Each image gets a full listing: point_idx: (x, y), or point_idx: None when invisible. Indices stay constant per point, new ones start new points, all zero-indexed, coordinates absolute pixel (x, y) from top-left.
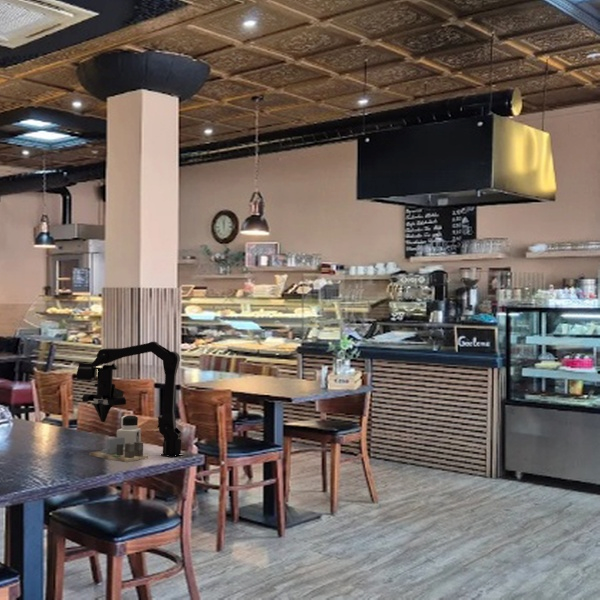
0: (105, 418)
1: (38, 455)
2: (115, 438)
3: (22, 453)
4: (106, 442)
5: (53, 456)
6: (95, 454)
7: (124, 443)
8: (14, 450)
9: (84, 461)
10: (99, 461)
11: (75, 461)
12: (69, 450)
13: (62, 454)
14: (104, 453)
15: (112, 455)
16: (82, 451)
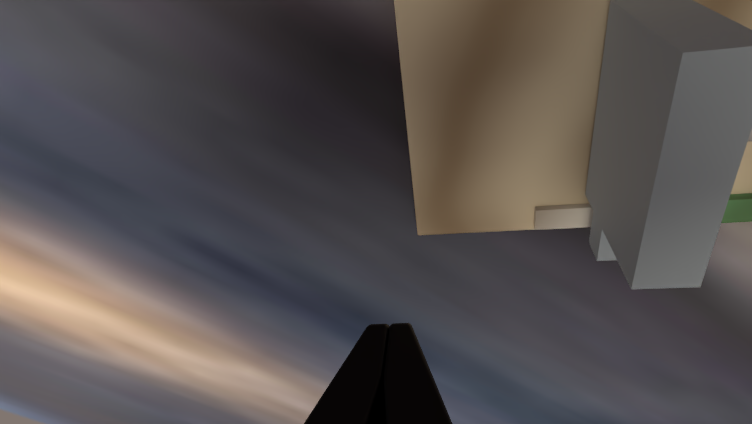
0: (433, 384)
1: (234, 395)
2: (704, 199)
3: (134, 408)
4: (623, 261)
5: (309, 370)
6: (493, 227)
7: (728, 21)
8: (20, 391)
9: (587, 353)
10: (675, 303)
11: (543, 379)
12: (124, 203)
13: (270, 312)
14: (543, 176)
15: (724, 222)
16: (214, 159)
